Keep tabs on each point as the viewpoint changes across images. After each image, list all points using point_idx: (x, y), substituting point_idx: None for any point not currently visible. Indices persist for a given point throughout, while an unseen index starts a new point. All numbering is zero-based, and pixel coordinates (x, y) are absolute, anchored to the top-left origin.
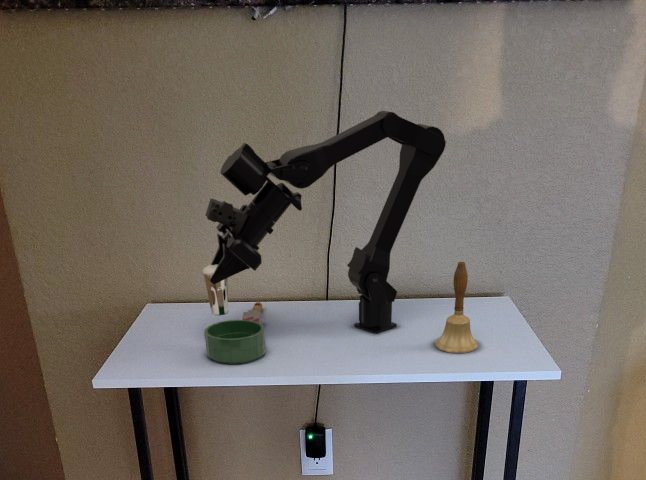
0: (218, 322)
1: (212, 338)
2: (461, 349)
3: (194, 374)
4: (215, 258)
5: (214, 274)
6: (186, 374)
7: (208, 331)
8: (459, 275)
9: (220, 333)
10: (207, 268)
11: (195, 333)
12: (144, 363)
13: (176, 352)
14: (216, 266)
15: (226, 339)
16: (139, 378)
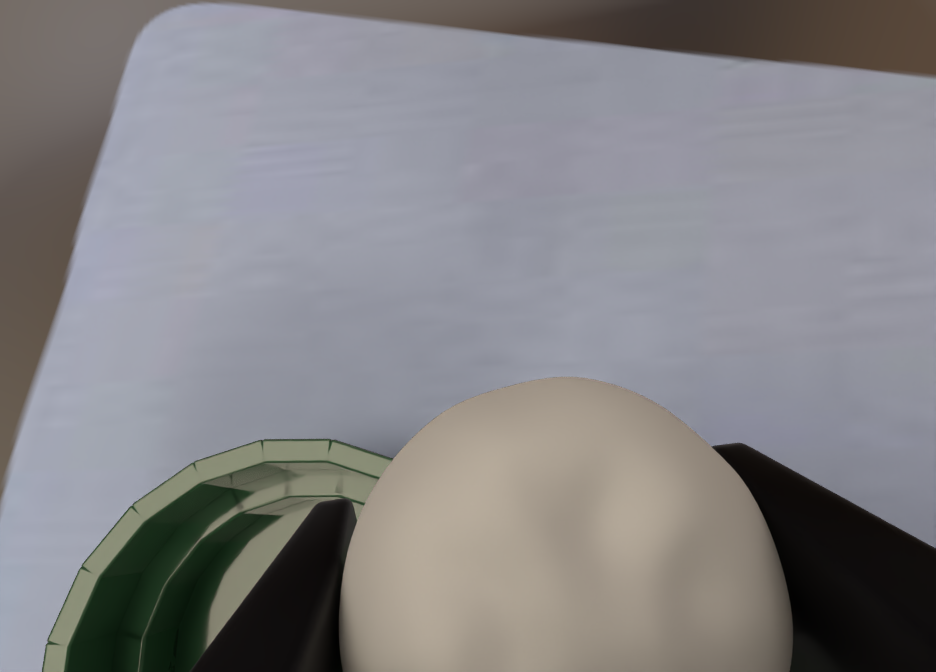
0: None
1: (136, 502)
2: None
3: (80, 396)
4: (919, 647)
5: (248, 595)
6: (94, 354)
7: (340, 467)
8: None
9: None
10: (454, 460)
11: (747, 374)
12: (307, 143)
13: (436, 284)
14: (465, 658)
15: (61, 614)
16: (114, 140)
